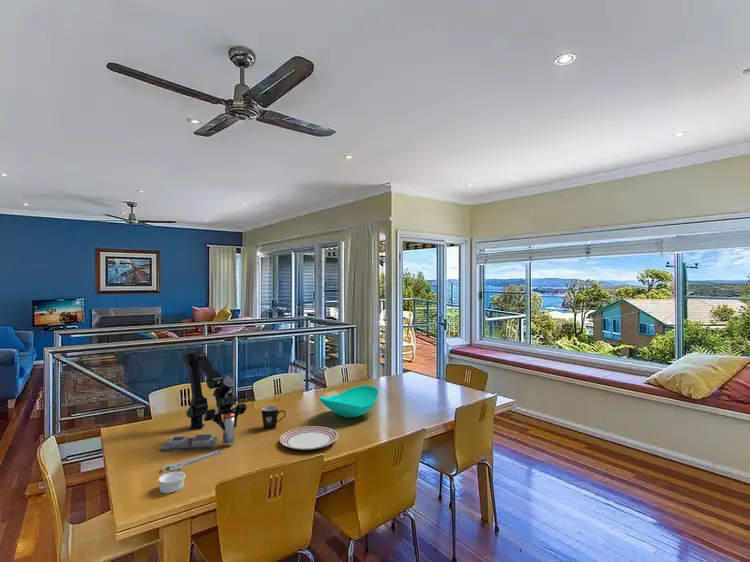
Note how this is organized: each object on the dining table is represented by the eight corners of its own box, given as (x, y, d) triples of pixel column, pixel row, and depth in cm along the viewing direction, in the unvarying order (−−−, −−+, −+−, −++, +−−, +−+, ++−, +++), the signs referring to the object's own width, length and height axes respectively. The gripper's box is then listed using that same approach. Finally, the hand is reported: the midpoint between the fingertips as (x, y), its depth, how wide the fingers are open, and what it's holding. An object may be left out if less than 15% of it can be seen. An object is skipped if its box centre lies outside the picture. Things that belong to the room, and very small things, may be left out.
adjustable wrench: (219, 452, 184) (219, 448, 184) (226, 457, 179) (226, 453, 179) (160, 470, 165) (160, 466, 165) (166, 476, 161) (166, 471, 161)
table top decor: (342, 431, 210) (343, 405, 211) (307, 419, 228) (307, 395, 228) (390, 412, 241) (390, 390, 241) (355, 403, 259) (355, 382, 259)
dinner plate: (286, 458, 177) (286, 451, 177) (274, 436, 202) (275, 430, 202) (345, 449, 188) (346, 441, 188) (328, 429, 213) (328, 423, 213)
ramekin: (167, 482, 156) (167, 470, 156) (189, 483, 155) (190, 471, 155) (152, 494, 147) (153, 481, 147) (176, 495, 146) (176, 483, 146)
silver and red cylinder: (224, 439, 193) (224, 412, 193) (235, 439, 193) (235, 411, 193) (221, 444, 188) (222, 415, 188) (233, 443, 188) (233, 415, 188)
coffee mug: (257, 429, 212) (258, 409, 212) (267, 423, 220) (267, 405, 220) (277, 432, 208) (277, 412, 208) (286, 426, 216) (286, 407, 216)
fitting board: (168, 441, 195) (168, 434, 195) (217, 439, 198) (217, 432, 198) (159, 451, 183) (159, 444, 183) (211, 448, 186) (211, 441, 186)
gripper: (206, 392, 188) (213, 423, 179) (245, 386, 199) (254, 415, 191) (200, 405, 194) (207, 436, 185) (239, 399, 206) (247, 427, 197)
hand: (229, 428), depth 189 cm, fingers closed on silver and red cylinder, 5 cm apart
